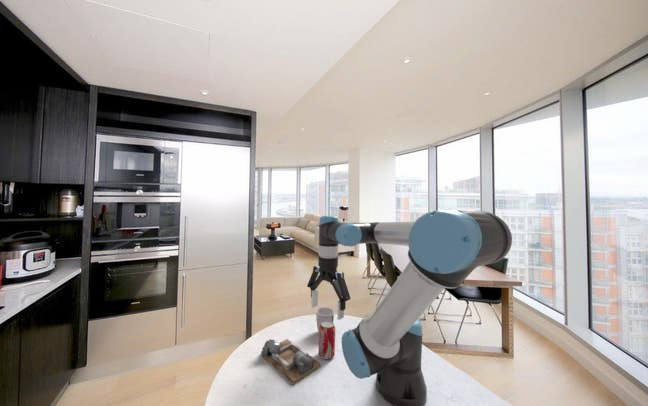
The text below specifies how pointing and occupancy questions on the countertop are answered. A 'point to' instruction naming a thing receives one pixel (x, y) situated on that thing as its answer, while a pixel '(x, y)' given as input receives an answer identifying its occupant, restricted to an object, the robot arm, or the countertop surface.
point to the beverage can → (326, 340)
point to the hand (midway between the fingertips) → (326, 312)
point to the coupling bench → (293, 362)
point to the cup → (324, 315)
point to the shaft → (271, 348)
